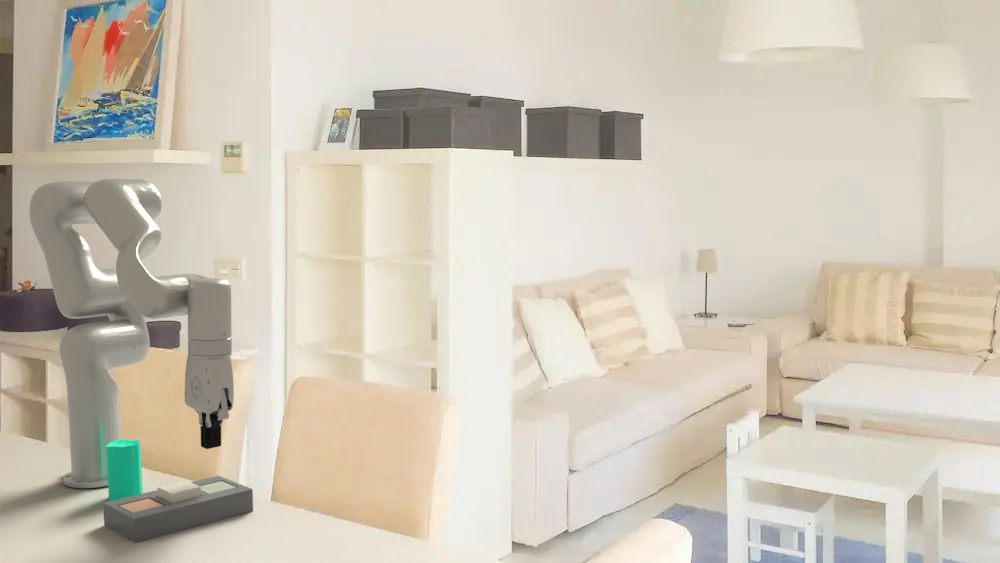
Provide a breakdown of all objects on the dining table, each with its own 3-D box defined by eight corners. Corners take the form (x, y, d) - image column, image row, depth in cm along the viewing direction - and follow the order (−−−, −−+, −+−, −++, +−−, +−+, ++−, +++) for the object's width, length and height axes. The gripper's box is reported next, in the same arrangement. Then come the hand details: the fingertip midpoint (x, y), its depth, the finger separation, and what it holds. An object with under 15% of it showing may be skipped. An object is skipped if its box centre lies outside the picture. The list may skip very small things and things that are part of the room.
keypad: (104, 525, 167) (103, 502, 167) (219, 496, 183) (218, 475, 182) (135, 542, 159) (134, 518, 158) (253, 510, 174) (252, 488, 174)
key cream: (158, 504, 170) (157, 487, 170) (186, 497, 174) (185, 480, 174) (172, 511, 167) (171, 493, 166) (201, 504, 170) (200, 486, 170)
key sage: (195, 504, 175) (194, 487, 175) (221, 497, 179) (221, 481, 179) (209, 511, 172) (209, 493, 171) (236, 504, 176) (236, 487, 175)
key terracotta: (119, 523, 165) (118, 505, 165) (149, 516, 169) (149, 498, 169) (133, 531, 162) (133, 512, 161) (164, 523, 166) (163, 505, 165)
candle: (131, 503, 179) (128, 439, 178) (102, 501, 180) (99, 438, 179) (148, 493, 185) (146, 431, 184) (120, 491, 186) (117, 430, 185)
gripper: (170, 343, 175) (172, 441, 177) (211, 355, 165) (213, 460, 167) (208, 339, 181) (209, 434, 183) (250, 350, 170) (251, 451, 172)
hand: (211, 446), depth 175 cm, fingers closed
